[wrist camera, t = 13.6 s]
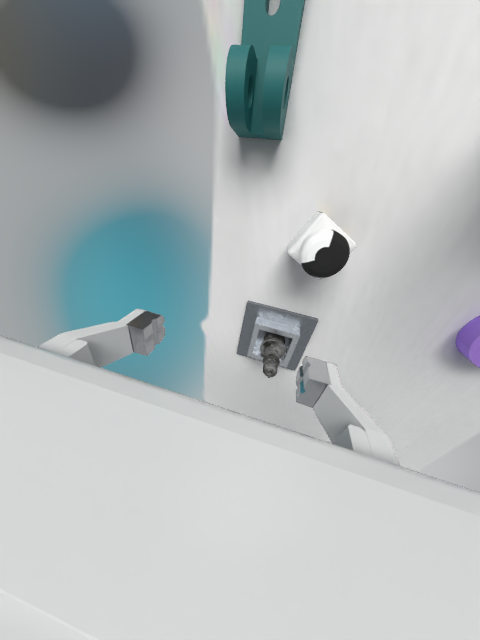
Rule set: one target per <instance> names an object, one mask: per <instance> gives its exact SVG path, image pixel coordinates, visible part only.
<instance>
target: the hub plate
mask: <svg viewBox="0 0 480 640" xmlns="http://www.w3.org/2000/svg"><path fill="white" fill-rule="evenodd" d="M317 322H318V319H317V318H313V317H310V316H306V315H302V314H298V313H294V312H290V311H286V310H283V309H279V308H275V307H271V306H267V305H263V304H259V303H256V302H252V301H248V302H247V306H246V311H245V316H244V321H243V325H242V330H241V335H240V340H239V345H238V350H237V354H240V355H243V356H246V357H250V358H253V359H257V360H260V361H263V358H264V355H263V354H262V353H261V350H260V347H261V344H262V343H263V342H264V336H265V335H266V334H267V333H269V332H271V333H274V334H278V335H282V336H284V338H285V345H284V346H285V348H286V353H285V355H284V356H283V357H282V358H280V359H279V360H280V364H279V365H278V366H280V367H284V368H287V369H291V370H294V371H295V369H296V367H297V365H298V363H299V361H300V359H301V356H302V354H303V352H304V350H305V348H306V346H307V344H308V342H309V339H310V337H311V335H312V333H313V331H314V329H315V327H316V324H317Z"/></svg>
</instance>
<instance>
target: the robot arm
mask: <svg viewBox="0 0 480 640" xmlns="http://www.w3.org/2000/svg"><path fill="white" fill-rule="evenodd" d="M164 322H165V321H164V317H163V316H162V315H158V314H155V313H151V312H149V311H145V310H142V309H136V310H134V311H133V312H131V313H130V314H128V315H127V316H125V317H124V318H122V319H121V320H119V321H118V322H110V323H105V324H101V325H96V326H92V327H87V328H83V329H79V330H74V331H70V332H65V333H61V334H59V335H58V336H56V337H54V338H52V339H50V340H49V341H47V342H45V343H43V344H42V345H40V346H38V347H36V346H33V345H30V344H27V343H24V342H21V341H18V340H15V339H12V338H8V337H5V336H2V335H0V640H480V492H477V491H475V490H472V489H469V488H466V487H463V486H459V485H456V484H453V483H450V482H447V481H444V480H441V479H438V478H435V477H432V476H428V475H426V474H422V473H420V472H417V471H414V470H411V469H408V468H405V467H402V466H400V463H399V461H398V458H397V456H396V453H395V451H394V449H393V446H392V444H391V441H390V439H389V436H388V435H387V434H386V433H385V432H384V430H383V429H382V428H381V427H380V426H379V425H378V424H377V423H376V422H375V421H374V420H373V419H372V417H371V416H370V415H369V414H368V413H367V412H366V411H365V410H364V409H363V408H362V407H361V406H360V404H359V403H358V402H357V401H356V400H355V399H354V398H353V397H352V396H351V395H350V394H349V393H348V391H347V390H345V389H343V388H342V384H341V380H340V377H339V373H338V369H337V366H336V364H334V363H330V362H327V361H322V360H318V359H315V358H311V357H307V356H305V357H304V359H303V361H302V364H303V366H301V367H299V370H298V372H297V376H296V385H297V387H298V388H297V390H296V402H297V403H300V404H303V405H306V406H309V407H312V408H313V410H314V412H315V414H316V415H317V417H318V419H319V421H320V422H321V424H322V426H323V428H324V430H325V431H326V433H327V435H328V437H329V438H330V440H331V442H332V444H331V443H328V442H325V441H322V440H319V439H316V438H313V437H310V436H307V435H304V434H301V433H298V432H295V431H292V430H289V429H286V428H283V427H280V426H277V425H274V424H271V423H268V422H265V421H261V420H258V419H255V418H252V417H249V416H246V415H243V414H240V413H237V412H234V411H231V410H228V409H225V408H222V407H219V406H216V405H213V404H210V403H207V402H204V401H200V400H198V399H194V398H191V397H188V396H185V395H182V394H179V393H176V392H173V391H170V390H167V389H164V388H161V387H158V386H155V385H152V384H149V383H146V382H143V381H140V380H137V379H133V378H131V377H127V376H124V375H121V374H118V373H115V372H112V371H109V370H106V369H103V368H101V367H103V366H105V365H107V364H109V363H112V362H114V361H115V360H118V359H120V358H123V357H125V356H127V355H129V354H131V353H133V352H135V353H139V354H142V355H146V356H148V355H149V354H150V352H151V351H153V350H154V349H155V345H156V344H159V343H160V342H161V341H162V340H163V338H164V336H165V328H164V326H163V325H162V324H163V323H164Z"/></svg>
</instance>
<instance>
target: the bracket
mask: <svg viewBox="0 0 480 640" xmlns="http://www.w3.org/2000/svg"><path fill="white" fill-rule="evenodd" d="M304 4H305V0H280V6H279V9H278V11H277V12H276V14H274V15H273V16H270V15H268V9H269V0H244V14H243V29H242V44H241V45H231V47H230V49H229V53H228V57H227V65H226V82H225V91H226V108H227V115H228V120H229V124H230V126H231V128H232V129H233V130H234V131H235V132H236V134H237V135H238V136H239V137H251V138H263V139H276V140H282V136H283V130H284V124H285V118H286V112H287V106H288V100H289V94H290V88H291V82H292V76H293V70H294V64H295V58H296V52H297V46H298V40H299V34H300V28H301V22H302V16H303V10H304Z"/></svg>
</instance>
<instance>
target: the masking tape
mask: <svg viewBox="0 0 480 640" xmlns="http://www.w3.org/2000/svg"><path fill="white" fill-rule="evenodd" d="M456 346H457V348H458V350H459V351H460V352H461V353H462V354H463V355H464V356H465V357H467V358H468V359H469V360H470V361H471V362H472V363H473V364H474V365H476V366H478V367H480V316H478V317H476V318H474V319H473V320H471V321H470V322H468V323H467V324H466V325H465V326H464V327H463V328H462V329H461V330H460V332H459V333H458V335H457V338H456Z"/></svg>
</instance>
